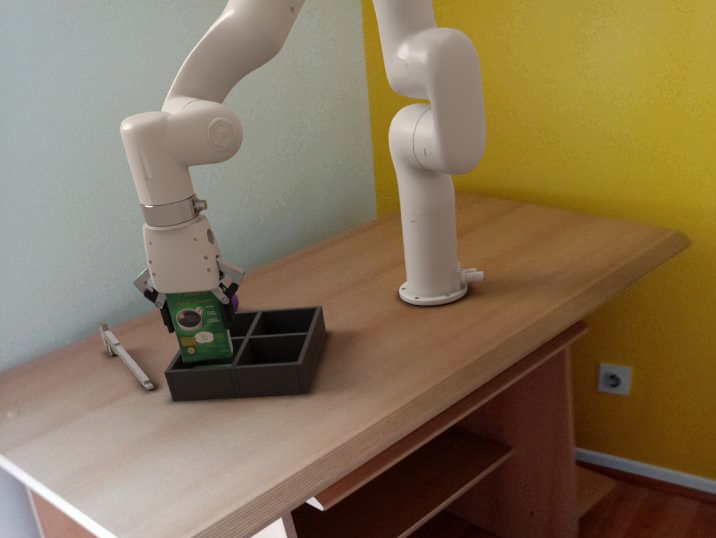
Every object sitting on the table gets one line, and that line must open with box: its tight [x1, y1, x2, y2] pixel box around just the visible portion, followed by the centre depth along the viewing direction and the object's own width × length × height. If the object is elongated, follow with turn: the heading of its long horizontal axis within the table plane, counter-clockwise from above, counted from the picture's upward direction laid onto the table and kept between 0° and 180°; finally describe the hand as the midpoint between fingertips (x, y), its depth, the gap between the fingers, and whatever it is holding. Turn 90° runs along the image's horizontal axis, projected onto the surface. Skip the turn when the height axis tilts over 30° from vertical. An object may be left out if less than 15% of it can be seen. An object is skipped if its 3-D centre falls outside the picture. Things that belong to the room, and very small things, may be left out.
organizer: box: [163, 305, 327, 402], centre depth 124 cm, size 21×21×5 cm
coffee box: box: [165, 291, 233, 363], centre depth 116 cm, size 8×3×13 cm, turn 92°
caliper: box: [98, 320, 154, 391], centre depth 127 cm, size 20×1×6 cm, turn 35°
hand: (201, 327), depth 117 cm, fingers closed on coffee box, 8 cm apart
